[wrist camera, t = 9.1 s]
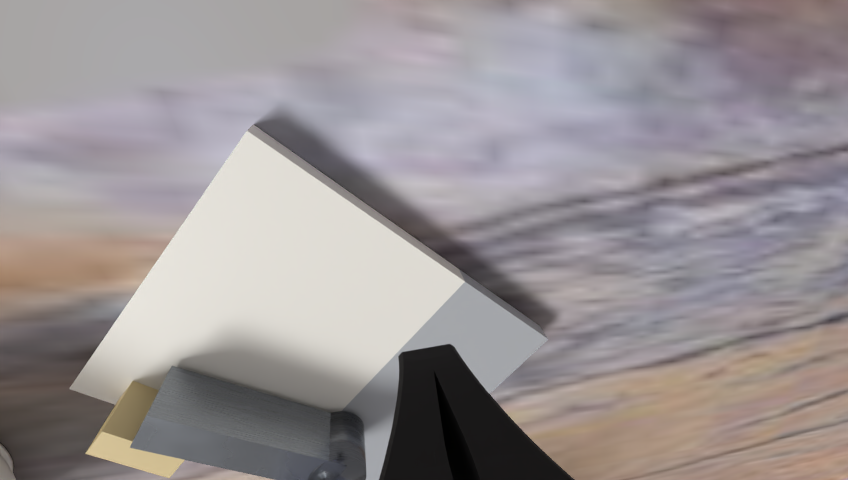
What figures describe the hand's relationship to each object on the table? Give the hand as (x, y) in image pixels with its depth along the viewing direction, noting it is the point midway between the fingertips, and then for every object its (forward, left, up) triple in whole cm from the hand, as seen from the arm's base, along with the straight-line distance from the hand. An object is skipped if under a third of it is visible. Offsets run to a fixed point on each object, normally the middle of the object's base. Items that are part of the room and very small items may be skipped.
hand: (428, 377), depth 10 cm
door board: (-2, +8, -10) cm, 13 cm away
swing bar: (-1, +12, -8) cm, 14 cm away
